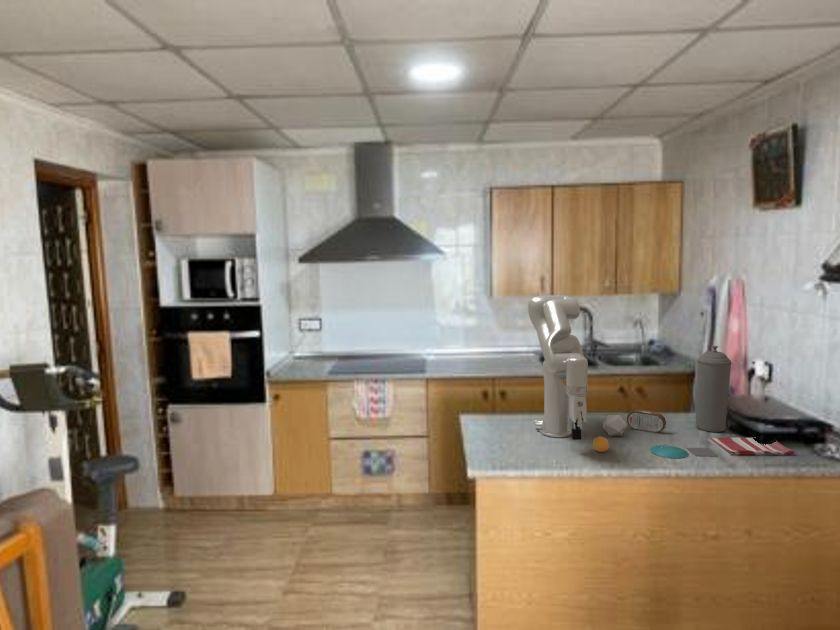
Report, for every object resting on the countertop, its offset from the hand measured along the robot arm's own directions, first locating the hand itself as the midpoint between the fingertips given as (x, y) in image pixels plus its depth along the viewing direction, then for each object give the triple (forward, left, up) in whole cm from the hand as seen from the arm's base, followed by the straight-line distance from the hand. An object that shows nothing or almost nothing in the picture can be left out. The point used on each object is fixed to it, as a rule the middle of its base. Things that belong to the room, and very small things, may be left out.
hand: (576, 438), depth 206 cm
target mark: (+31, +15, -5) cm, 35 cm away
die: (+10, +27, -6) cm, 29 cm away
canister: (+45, +51, -6) cm, 68 cm away
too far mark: (+42, +20, -5) cm, 47 cm away
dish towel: (+58, +33, -6) cm, 67 cm away
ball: (+8, +5, -3) cm, 10 cm away
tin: (+21, +37, -6) cm, 43 cm away
